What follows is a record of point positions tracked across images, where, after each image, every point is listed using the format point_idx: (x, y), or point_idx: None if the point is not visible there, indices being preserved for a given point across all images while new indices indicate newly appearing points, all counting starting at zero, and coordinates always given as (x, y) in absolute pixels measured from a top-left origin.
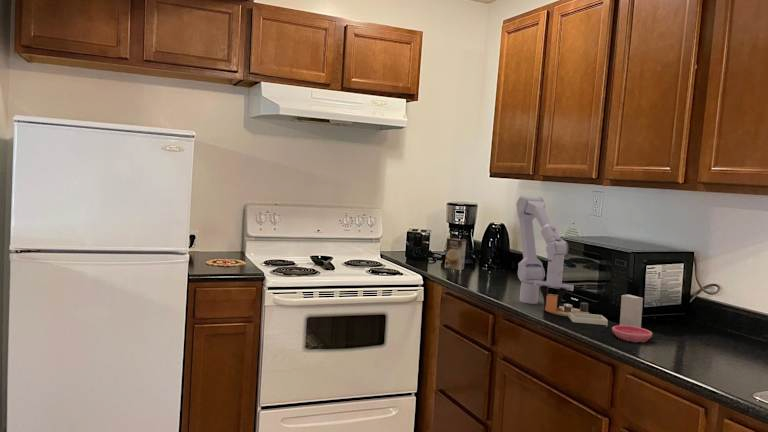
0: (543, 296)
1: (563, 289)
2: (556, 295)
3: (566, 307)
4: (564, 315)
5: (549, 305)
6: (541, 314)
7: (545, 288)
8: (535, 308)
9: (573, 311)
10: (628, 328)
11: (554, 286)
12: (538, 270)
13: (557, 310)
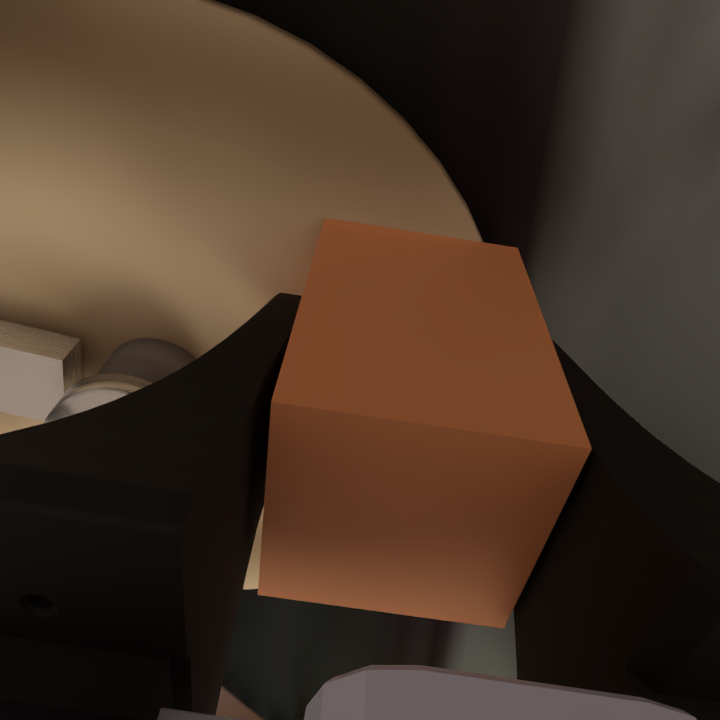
0: (659, 445)
1: (4, 663)
2: (306, 546)
3: None
4: (151, 15)
5: (462, 290)
6: (616, 59)
7: (701, 694)
8: None
9: (47, 339)
10: None
11: (385, 671)
12: None
13: None
